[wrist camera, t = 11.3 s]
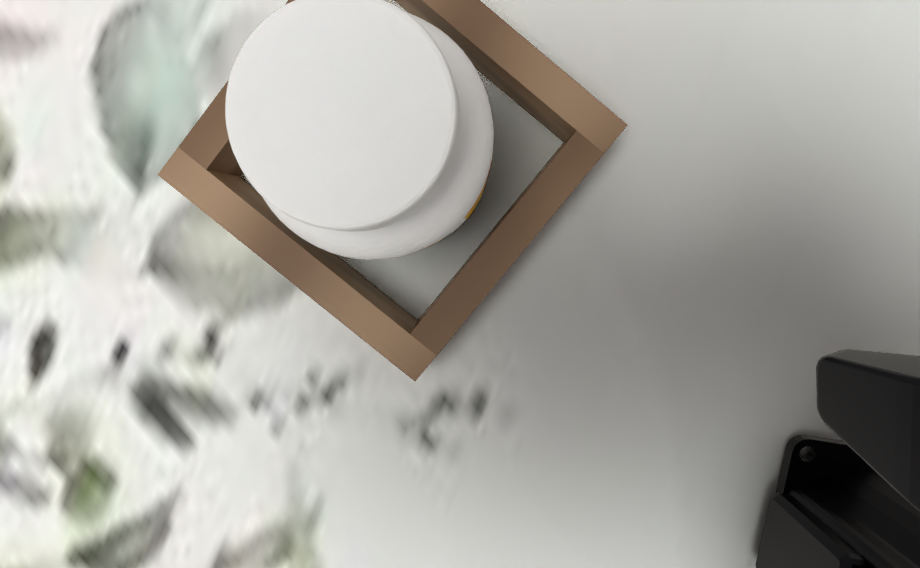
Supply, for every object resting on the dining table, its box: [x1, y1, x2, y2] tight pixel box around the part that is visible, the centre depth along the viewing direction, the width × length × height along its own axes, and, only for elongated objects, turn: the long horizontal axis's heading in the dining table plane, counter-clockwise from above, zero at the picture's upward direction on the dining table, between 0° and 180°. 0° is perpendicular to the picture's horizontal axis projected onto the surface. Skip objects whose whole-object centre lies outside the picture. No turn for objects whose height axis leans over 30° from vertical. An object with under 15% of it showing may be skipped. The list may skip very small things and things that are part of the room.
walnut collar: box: [158, 0, 627, 381], centre depth 19 cm, size 10×10×2 cm
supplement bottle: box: [225, 0, 494, 260], centre depth 15 cm, size 5×5×10 cm
